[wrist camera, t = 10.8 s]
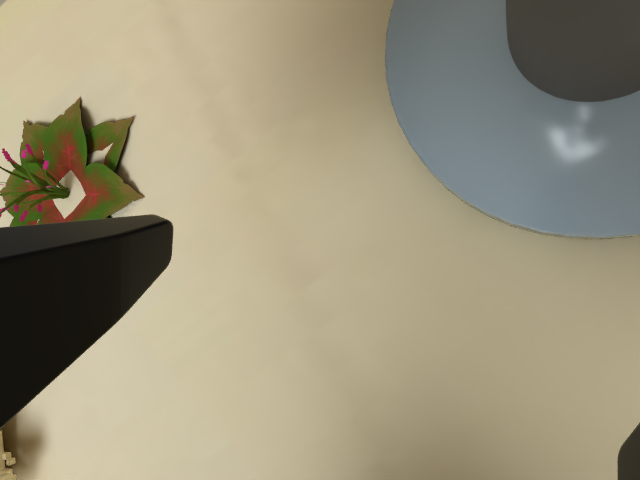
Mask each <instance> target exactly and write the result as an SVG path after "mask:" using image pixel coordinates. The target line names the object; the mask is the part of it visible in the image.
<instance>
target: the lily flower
mask: <svg viewBox="0 0 640 480" xmlns="http://www.w3.org/2000/svg"><path fill="white" fill-rule="evenodd" d="M79 105H80V98H79V99H78V100H77V101H76V102H75V104H73V105H72V106H71V107H69V108H68V109H67V110H66V111H65V113H64V115H60V116H58V117H57V118H56V119H55V120H54V121H53V122H52V123H51V124H50V125H49V127H47V126H44V125H40V124H31V125H29V123H27V122H25V121H23V125H24V129H23V135H22V138H23V142H22V143H21V148H20V159H21V164H22V165H21V166H20V165H18V164H17V163H16V162H15V161H14V160H13V159H11V157H10V155H9V154H8V152H7V151H5V149H4V148H3V149H2V150H3V151H2V153H4V156H5V158H6V159H7V161H10V163H11V164H12V165H13V167H14V168H15V169H14V170H13V172H11V171H8V170H6V169H4V168H2V167H1V166H0V168H1V169H3V170H4V171H6V172H8V173H10V174H11V175H10V177H9V178H8V180H7V182H6V188H3V189H2V190H1V191H0V193H1V194H0V196H3V199H4V201H6V203H5V206H6V207H5V208H2V209H0V217H1V213H3V212H4V211H5V210H7V211H8V212H9V213H10V214H11V215H12V216H13V217H14V218H13V220H12V222H11V224H10V227H14V226H26V225H36V224H49V223H60V222H71V221H83V220H94V219H106V218H107V216H109V215H111V214H113V213H115V212H117V211H118V210H120V209H122V208H124V207H125V206H127V205H128V203H130V202H131V201H133V200H134V201H136V200H138V199H141V198H143V196H142V195H140V194H138V193H136V191H135V190H134V189H133V188H131V187H130V186H129V185H128V184H124V182H123V179H122V178H120V177H119V176H118V175H117V174H116V173H114V171H115V169H116V166H117V163H118V160H119V157H120V154H121V151H122V148H123V145H124V142H125V140H126V136H127V131H128V127H130V124H131V122H132V120H133V118H134V117H131V118H129V119H127V120H126V119H124V120H118V121H116V122H115V123H113V122H112V121H111V122H105V123H101V124H99V125H97V126H95V127H93V128H92V129H91V130H90V131H89V132H88V133H87V134H86V135H85V133H84V129H83V126H82V124H81V109H80V107H79ZM113 142H114V143H113ZM112 143H113V144H112ZM110 144H112V146H111V148H110V150H109V151H108V153H107V155H106V156H105V163H104V165H103V164H101V163H91V164H89V165H88V166H86V161H87V155H88V154H90V153H92V152H94V151H96V150H103V149H105V148H106V147H107V146H109V145H110ZM42 150H43V151H44V155H43V151H42ZM44 158H45V161H44V160H43V159H44ZM70 170H72V172H73V173H74V174H75V176H76V177H77V178H78V180H79V181H80V182H81V185H82V187H83V189H84V191H85V194H86V196H85V197H84V198H83V200H82V201H81V202H80V203H79V205H78V206H77V207H76V208H75V210H74V211H73V212H72V213H71V214H70V215H68V216H67V217H66V218H65V219H64V218H63V216H62V215H61V213H60V212H59V210H58V209H57V207H56V206H55V204H54V202H53V199H56V198H63V199H64V198H67V197H69V196H68V195H69V194H68V193H69V192H68V188H65V187H64V186H62V185H61V184H60V183H59V181H60V180H61V179H62V178H63V177H64V176H65V175H66V174H67V173H68V172H69V171H70ZM1 183H3V182H1ZM0 185H3V184H0ZM56 185H58V186H59V187H60V188H58V187H57V186H56ZM61 188H62V189H61ZM38 219H40V220H39V221H38V223H37V220H38Z"/></svg>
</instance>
